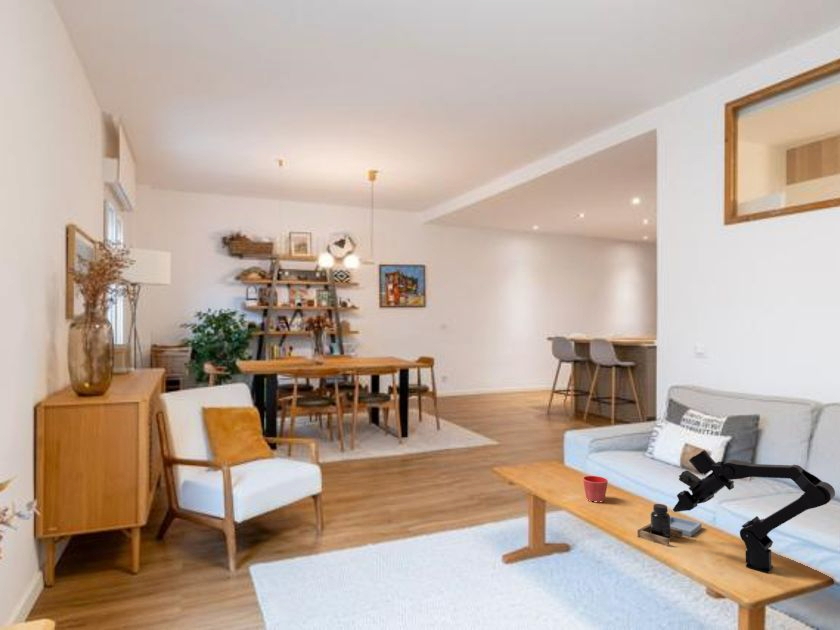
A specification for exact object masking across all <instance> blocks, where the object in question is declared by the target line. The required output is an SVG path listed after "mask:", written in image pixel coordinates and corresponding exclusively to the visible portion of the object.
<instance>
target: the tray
mask: <svg viewBox="0 0 840 630" xmlns="http://www.w3.org/2000/svg"><path fill="white" fill-rule="evenodd" d="M702 525H703V524H702V523H701V522H697V521H694V520H691V519H685V518H682V517H678V516H675V515H674V516H673V515H670V528H674V529H677V530H681V531H682V536H685V537H687V538H692V537H693V536H695V535H696V534H697V533H698V532H700V531H701V530H702V527H703V526H702Z"/></svg>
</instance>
